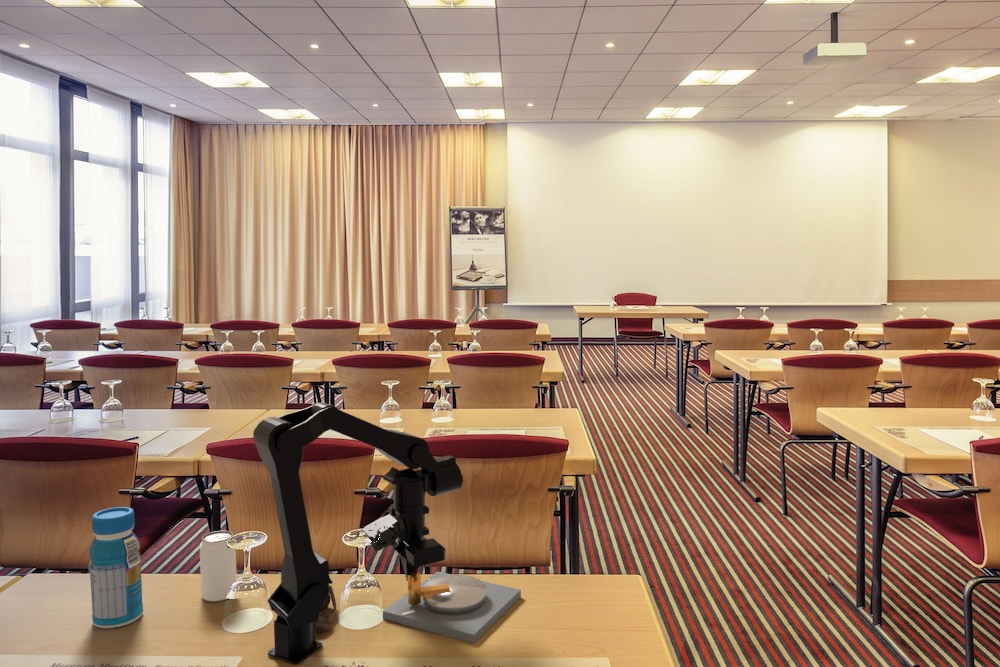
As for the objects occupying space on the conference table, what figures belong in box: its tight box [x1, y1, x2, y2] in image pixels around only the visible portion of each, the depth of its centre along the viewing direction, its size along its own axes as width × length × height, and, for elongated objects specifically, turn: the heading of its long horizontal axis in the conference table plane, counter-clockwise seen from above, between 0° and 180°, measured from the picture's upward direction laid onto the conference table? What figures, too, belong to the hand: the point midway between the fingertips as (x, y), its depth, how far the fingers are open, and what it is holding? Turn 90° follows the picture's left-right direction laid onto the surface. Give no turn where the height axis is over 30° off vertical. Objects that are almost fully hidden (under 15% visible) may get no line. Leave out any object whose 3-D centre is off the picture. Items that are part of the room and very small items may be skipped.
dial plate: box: [382, 571, 522, 644], centre depth 131 cm, size 19×19×2 cm
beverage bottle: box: [88, 506, 144, 629], centre depth 127 cm, size 8×8×20 cm
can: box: [199, 530, 238, 603], centre depth 136 cm, size 6×6×12 cm
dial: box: [407, 571, 486, 614], centre depth 131 cm, size 15×12×6 cm
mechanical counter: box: [316, 584, 337, 634], centre depth 128 cm, size 7×13×10 cm
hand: (409, 581), depth 131 cm, fingers closed
